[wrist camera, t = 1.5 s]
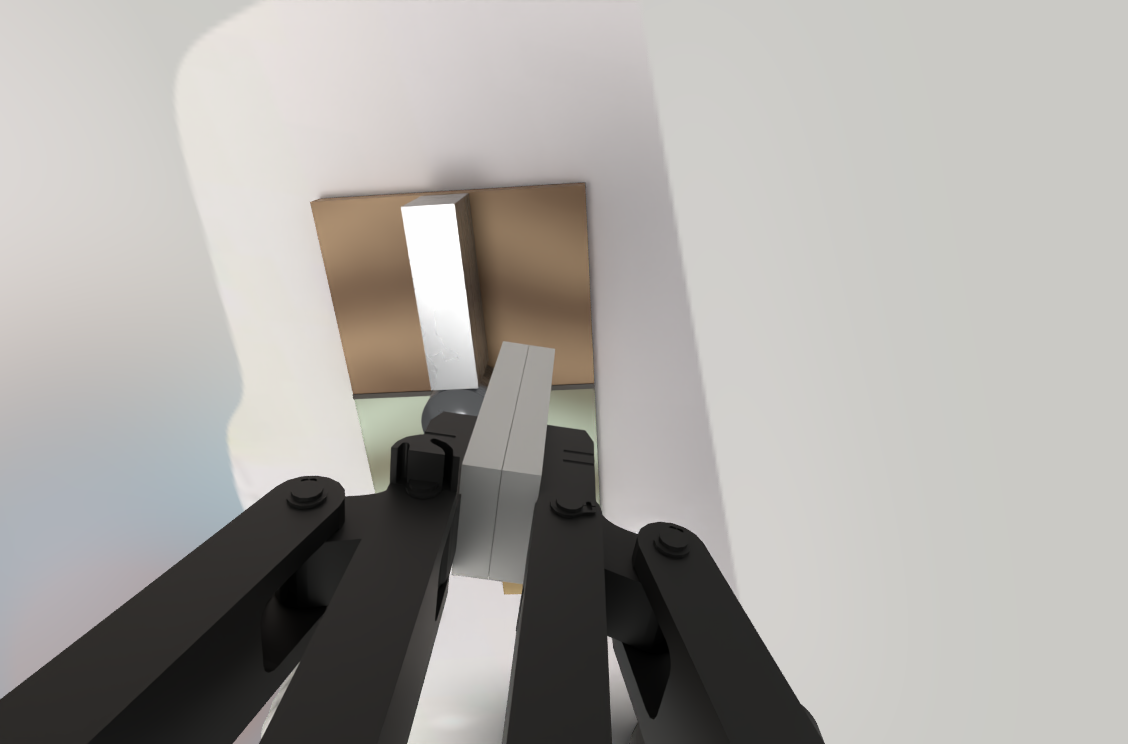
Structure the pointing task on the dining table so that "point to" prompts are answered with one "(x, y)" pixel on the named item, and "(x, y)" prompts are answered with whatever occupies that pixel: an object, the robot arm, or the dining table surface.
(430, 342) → the bar
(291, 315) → the dining table surface
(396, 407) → the door board
